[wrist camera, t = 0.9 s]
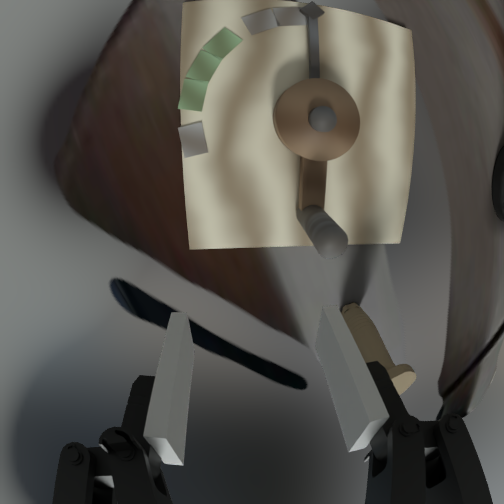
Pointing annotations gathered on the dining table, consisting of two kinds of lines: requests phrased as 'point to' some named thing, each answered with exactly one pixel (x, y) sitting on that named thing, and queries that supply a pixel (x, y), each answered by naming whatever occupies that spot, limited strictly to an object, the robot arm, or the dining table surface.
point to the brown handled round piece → (317, 140)
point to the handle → (375, 346)
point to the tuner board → (262, 129)
